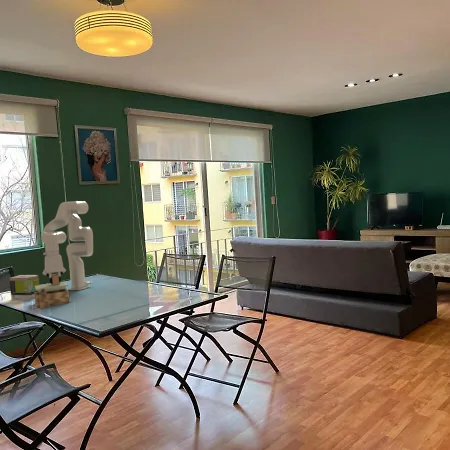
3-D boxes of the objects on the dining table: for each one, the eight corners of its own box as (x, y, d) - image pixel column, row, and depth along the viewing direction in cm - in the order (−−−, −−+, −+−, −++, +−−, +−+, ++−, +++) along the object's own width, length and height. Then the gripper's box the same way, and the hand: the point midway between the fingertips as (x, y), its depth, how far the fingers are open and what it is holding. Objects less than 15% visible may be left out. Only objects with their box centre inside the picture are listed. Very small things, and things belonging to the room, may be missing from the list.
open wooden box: (66, 298, 281) (65, 286, 280) (70, 303, 267) (69, 290, 266) (35, 303, 273) (34, 290, 272) (38, 309, 259) (36, 295, 258)
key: (44, 293, 262) (44, 288, 261) (46, 296, 253) (46, 291, 253) (41, 293, 261) (40, 288, 261) (42, 297, 252) (42, 291, 252)
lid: (65, 285, 281) (64, 271, 280) (68, 288, 271) (67, 274, 270) (35, 289, 273) (33, 276, 272) (37, 293, 263) (35, 279, 262)
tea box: (41, 297, 290) (39, 274, 289) (29, 301, 281) (27, 277, 279) (22, 296, 295) (20, 274, 294) (10, 300, 286) (8, 277, 284)
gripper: (38, 256, 263) (41, 286, 265) (67, 252, 271) (70, 282, 273) (37, 254, 270) (40, 284, 272) (66, 251, 278) (68, 280, 280)
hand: (55, 283), depth 273 cm, fingers closed on lid, 3 cm apart
